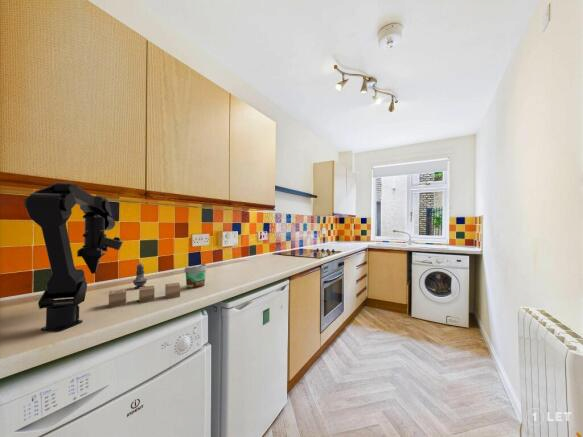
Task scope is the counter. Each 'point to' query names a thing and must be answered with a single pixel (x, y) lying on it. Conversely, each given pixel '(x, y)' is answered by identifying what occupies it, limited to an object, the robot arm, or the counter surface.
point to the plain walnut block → (146, 294)
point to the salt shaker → (139, 277)
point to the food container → (195, 276)
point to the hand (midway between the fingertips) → (93, 273)
